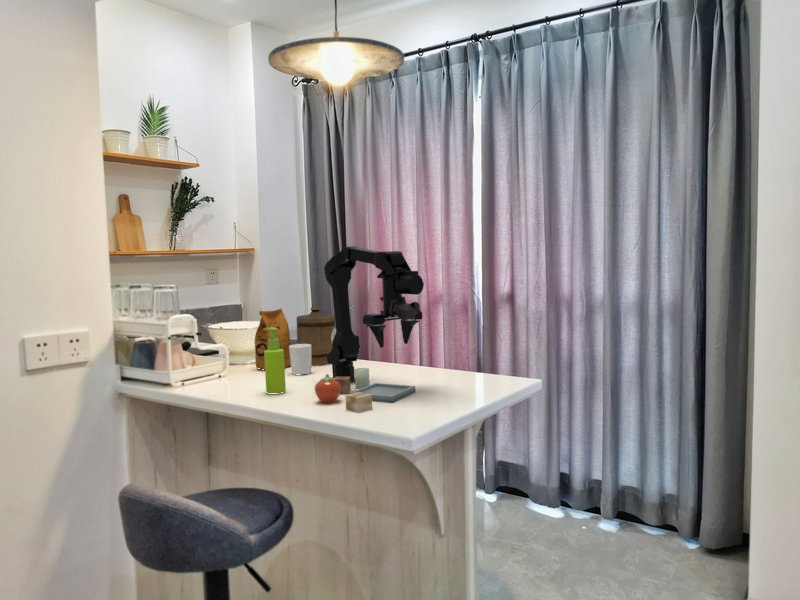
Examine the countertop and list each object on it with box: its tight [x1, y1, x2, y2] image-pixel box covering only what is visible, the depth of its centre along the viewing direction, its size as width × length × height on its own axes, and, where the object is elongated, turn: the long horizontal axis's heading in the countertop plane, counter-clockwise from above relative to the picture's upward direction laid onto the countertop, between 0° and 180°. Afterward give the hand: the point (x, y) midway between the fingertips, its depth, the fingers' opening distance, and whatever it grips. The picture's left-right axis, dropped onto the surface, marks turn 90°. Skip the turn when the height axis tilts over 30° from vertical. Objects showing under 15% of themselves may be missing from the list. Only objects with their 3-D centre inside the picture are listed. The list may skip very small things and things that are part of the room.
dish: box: [349, 382, 417, 404], centre depth 185 cm, size 14×14×2 cm
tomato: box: [314, 373, 341, 404], centre depth 180 cm, size 7×7×8 cm
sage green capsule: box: [354, 367, 371, 390], centre depth 196 cm, size 4×4×6 cm
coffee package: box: [254, 308, 292, 371], centre depth 236 cm, size 10×12×22 cm
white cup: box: [289, 343, 312, 375], centre depth 223 cm, size 8×8×10 cm
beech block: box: [344, 392, 373, 413], centre depth 170 cm, size 5×5×4 cm
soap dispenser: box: [263, 327, 287, 393], centre depth 194 cm, size 6×7×20 cm
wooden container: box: [296, 305, 336, 367], centre depth 244 cm, size 15×15×22 cm
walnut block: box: [332, 377, 352, 395], centre depth 191 cm, size 4×4×4 cm
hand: (394, 345), depth 189 cm, fingers open, 9 cm apart
